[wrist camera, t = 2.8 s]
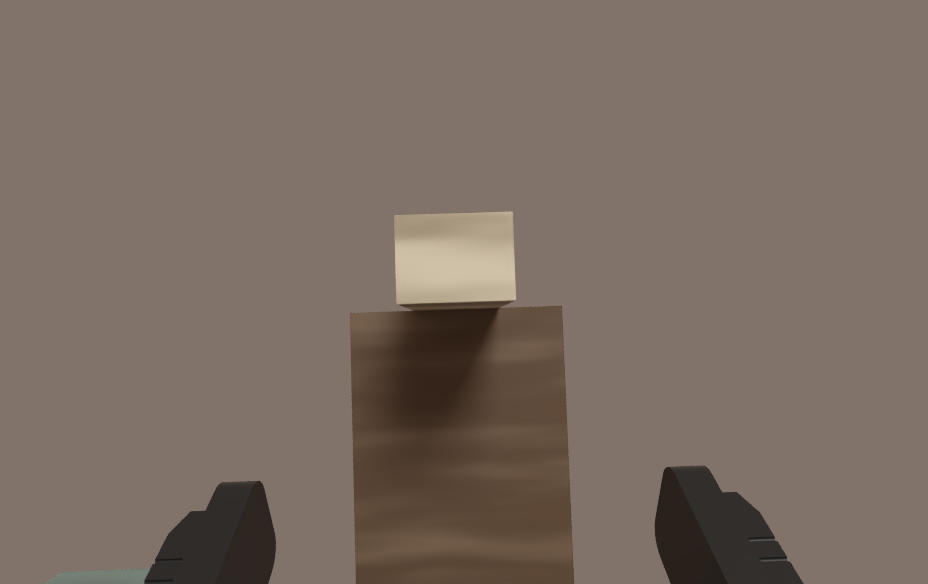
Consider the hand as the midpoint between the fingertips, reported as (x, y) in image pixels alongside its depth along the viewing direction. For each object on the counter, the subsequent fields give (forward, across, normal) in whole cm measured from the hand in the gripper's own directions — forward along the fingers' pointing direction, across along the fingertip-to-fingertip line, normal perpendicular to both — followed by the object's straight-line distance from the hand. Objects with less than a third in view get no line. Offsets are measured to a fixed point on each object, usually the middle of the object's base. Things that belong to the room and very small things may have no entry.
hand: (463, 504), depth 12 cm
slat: (+18, 0, +6) cm, 19 cm away
